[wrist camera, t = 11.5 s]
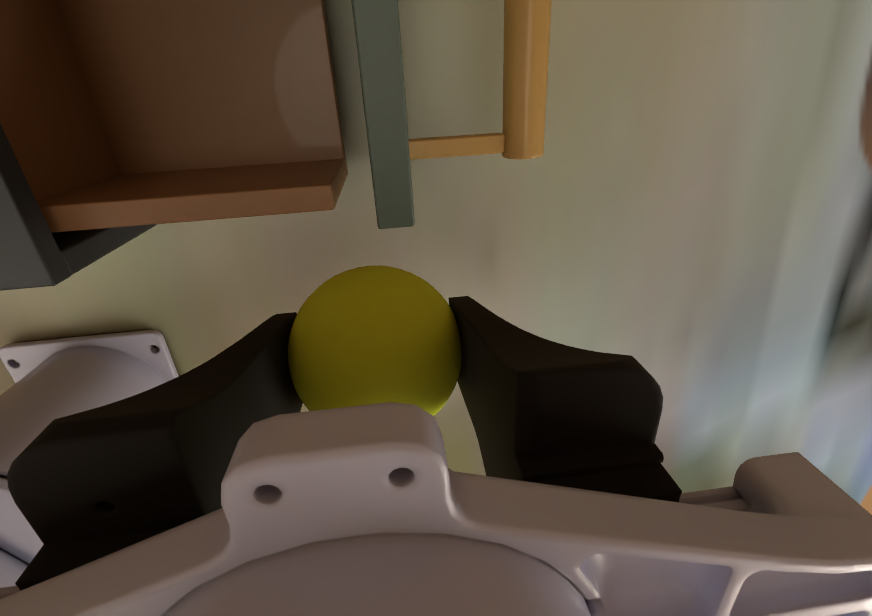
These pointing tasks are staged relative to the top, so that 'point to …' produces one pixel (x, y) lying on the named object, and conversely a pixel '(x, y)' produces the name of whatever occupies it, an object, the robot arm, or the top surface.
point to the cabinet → (43, 234)
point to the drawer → (226, 107)
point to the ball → (374, 342)
